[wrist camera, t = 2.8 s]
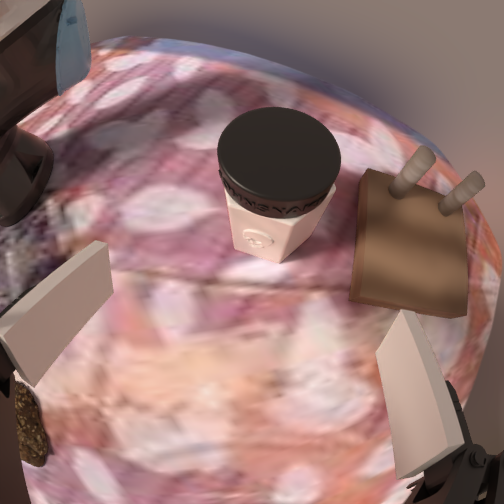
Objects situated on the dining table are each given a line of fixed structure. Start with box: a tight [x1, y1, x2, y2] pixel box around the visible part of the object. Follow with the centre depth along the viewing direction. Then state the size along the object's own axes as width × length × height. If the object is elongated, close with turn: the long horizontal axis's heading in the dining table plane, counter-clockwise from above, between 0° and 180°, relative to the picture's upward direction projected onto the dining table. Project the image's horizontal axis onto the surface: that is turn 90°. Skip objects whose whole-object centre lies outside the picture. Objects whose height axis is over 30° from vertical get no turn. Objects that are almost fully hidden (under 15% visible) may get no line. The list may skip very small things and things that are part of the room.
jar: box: [217, 107, 341, 263], centre depth 22 cm, size 9×8×12 cm
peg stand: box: [349, 146, 485, 319], centre depth 22 cm, size 14×14×10 cm
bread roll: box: [15, 382, 48, 467], centre depth 17 cm, size 13×12×5 cm
